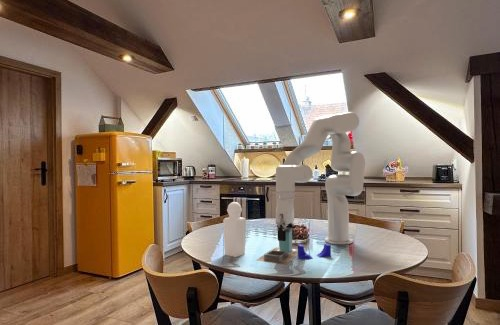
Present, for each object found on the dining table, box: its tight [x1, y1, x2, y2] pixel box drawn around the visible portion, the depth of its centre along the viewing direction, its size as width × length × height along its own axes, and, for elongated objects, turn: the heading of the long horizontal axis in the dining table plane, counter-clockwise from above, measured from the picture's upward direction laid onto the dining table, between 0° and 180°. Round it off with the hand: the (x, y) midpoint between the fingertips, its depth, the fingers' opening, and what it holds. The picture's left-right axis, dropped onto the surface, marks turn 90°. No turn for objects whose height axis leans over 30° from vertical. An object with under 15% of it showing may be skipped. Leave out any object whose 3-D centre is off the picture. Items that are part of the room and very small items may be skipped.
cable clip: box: [297, 242, 332, 260], centre depth 121 cm, size 12×4×6 cm, turn 95°
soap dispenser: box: [222, 201, 247, 258], centre depth 125 cm, size 6×6×22 cm
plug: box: [279, 227, 293, 252], centre depth 129 cm, size 4×4×9 cm
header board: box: [256, 246, 298, 265], centre depth 123 cm, size 20×12×4 cm, turn 154°
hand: (285, 238), depth 129 cm, fingers open, 9 cm apart
